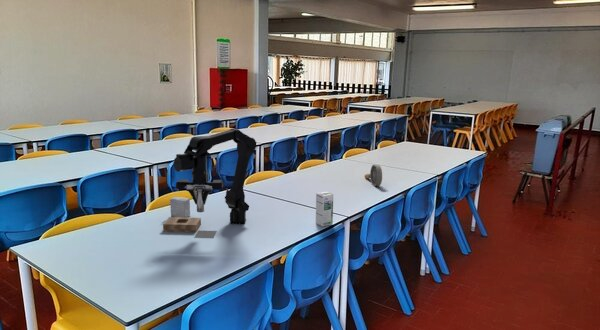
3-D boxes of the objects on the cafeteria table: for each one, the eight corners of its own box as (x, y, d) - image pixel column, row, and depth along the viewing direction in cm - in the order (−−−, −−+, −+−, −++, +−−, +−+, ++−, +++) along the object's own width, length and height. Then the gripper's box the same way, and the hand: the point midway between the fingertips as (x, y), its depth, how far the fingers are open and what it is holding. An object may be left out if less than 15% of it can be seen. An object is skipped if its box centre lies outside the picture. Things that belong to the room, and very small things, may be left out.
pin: (206, 209, 185) (205, 187, 183) (204, 212, 181) (203, 189, 179) (197, 209, 185) (196, 186, 183) (195, 212, 181) (194, 189, 179)
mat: (217, 231, 188) (217, 230, 188) (213, 238, 180) (213, 238, 180) (198, 231, 188) (198, 230, 188) (194, 238, 180) (194, 237, 180)
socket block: (200, 225, 195) (200, 217, 194) (196, 232, 186) (196, 225, 185) (169, 224, 195) (169, 216, 194) (163, 231, 186) (162, 224, 185)
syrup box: (322, 226, 197) (323, 196, 194) (314, 222, 202) (316, 192, 198) (332, 224, 200) (334, 194, 197) (324, 220, 205) (326, 190, 202)
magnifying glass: (363, 166, 285) (377, 164, 260) (368, 166, 285) (381, 164, 261) (364, 186, 284) (377, 186, 260) (368, 186, 285) (382, 185, 260)
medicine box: (190, 215, 207) (190, 198, 205) (185, 218, 202) (185, 200, 201) (175, 213, 209) (175, 196, 207) (170, 216, 205) (169, 199, 203)
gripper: (225, 164, 187) (225, 199, 190) (181, 163, 187) (182, 198, 190) (221, 170, 176) (221, 207, 180) (174, 169, 176) (175, 206, 179)
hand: (200, 204), depth 182 cm, fingers closed on pin, 3 cm apart
